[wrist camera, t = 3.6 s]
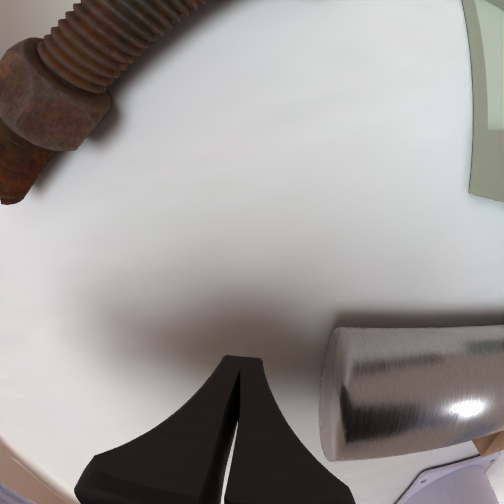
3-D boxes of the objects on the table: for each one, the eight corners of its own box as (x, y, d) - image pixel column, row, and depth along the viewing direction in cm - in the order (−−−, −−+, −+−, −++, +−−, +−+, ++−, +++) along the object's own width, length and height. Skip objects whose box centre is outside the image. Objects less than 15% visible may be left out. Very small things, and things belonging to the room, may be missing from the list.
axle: (551, 304, 11) (603, 344, 6) (521, 376, 13) (559, 423, 8) (335, 303, 12) (367, 388, 7) (314, 398, 13) (326, 486, 8)
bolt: (43, 159, 12) (281, -50, 9) (57, 240, 11) (363, -17, 7) (-51, 126, 7) (224, -141, 3) (-69, 215, 6) (314, -152, 2)
